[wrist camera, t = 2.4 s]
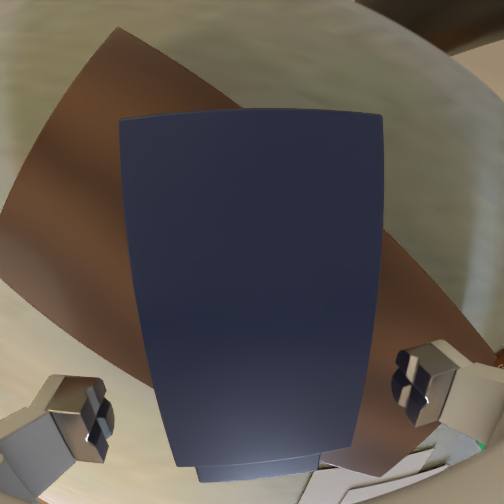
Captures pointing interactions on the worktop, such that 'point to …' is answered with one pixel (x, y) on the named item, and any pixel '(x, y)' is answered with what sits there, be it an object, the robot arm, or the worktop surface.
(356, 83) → the worktop surface
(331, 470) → the paper stack
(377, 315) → the wooden serving board
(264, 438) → the navy stepped box
